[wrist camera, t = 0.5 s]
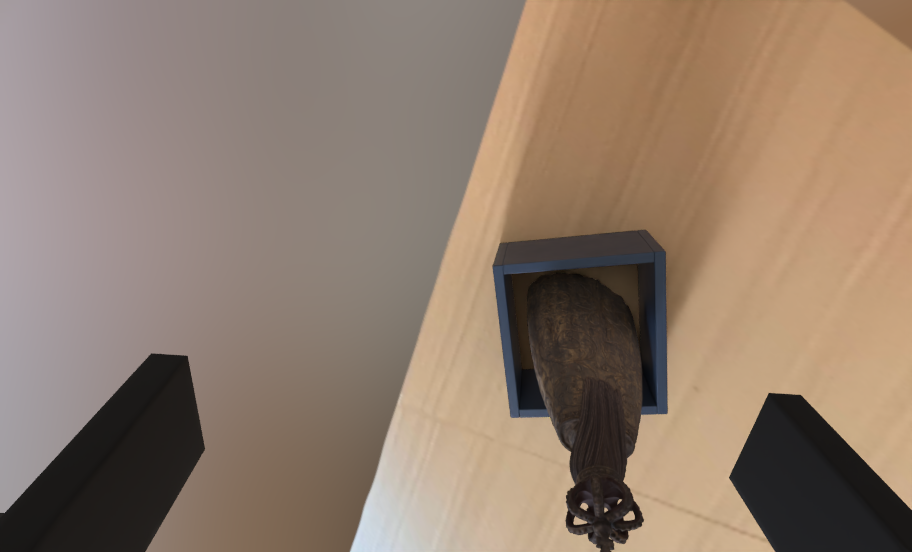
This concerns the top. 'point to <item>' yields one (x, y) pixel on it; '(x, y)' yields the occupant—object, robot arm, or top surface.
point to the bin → (573, 256)
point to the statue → (589, 395)
